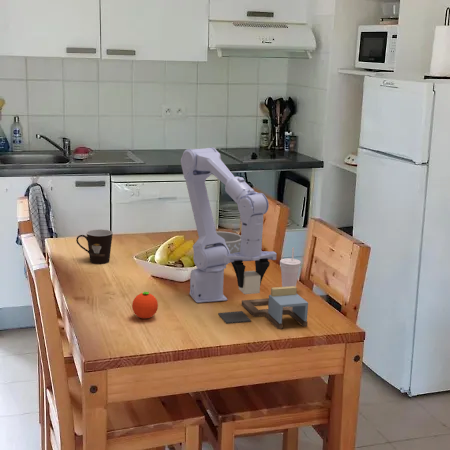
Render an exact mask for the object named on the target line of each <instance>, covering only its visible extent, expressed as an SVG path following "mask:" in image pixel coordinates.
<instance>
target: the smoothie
mask: <svg viewBox="0 0 450 450" xmlns="http://www.w3.org/2000/svg"><path fill="white" fill-rule="evenodd" d="M291 249H292V250H291V258H282V259H280V260H279V265H280V272H281V273H280V274H281V287H289V286H295V287H296V288H297V281H298V276H299V272H300V267H301V265H302V261H301V260H299V259H296V258H295V257H294V256H295V247H292V248H291Z"/></svg>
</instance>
